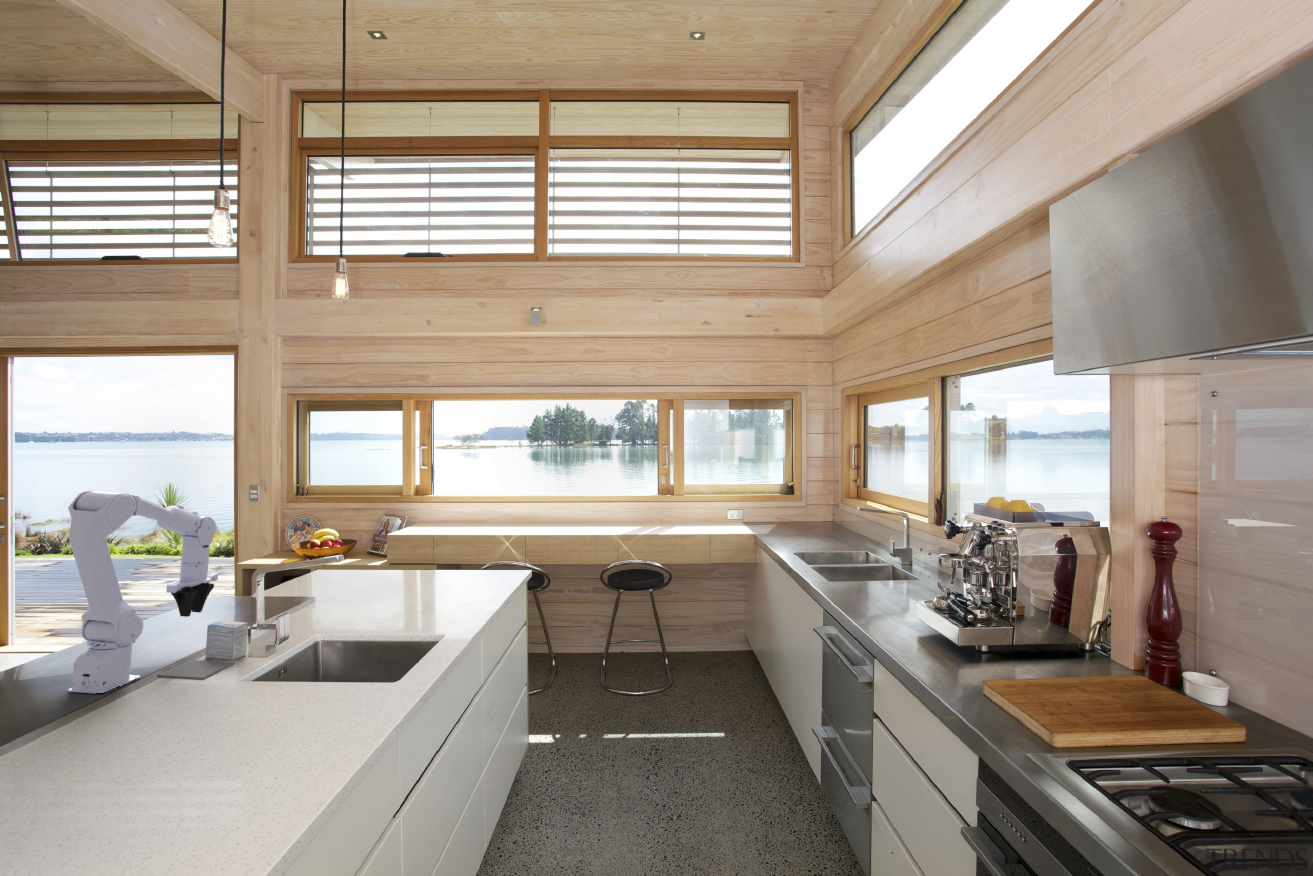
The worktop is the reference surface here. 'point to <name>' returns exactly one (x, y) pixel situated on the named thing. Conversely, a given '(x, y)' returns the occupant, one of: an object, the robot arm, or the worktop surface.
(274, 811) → the worktop surface
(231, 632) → the medicine box
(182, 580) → the robot arm
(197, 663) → the grey rubber pad
